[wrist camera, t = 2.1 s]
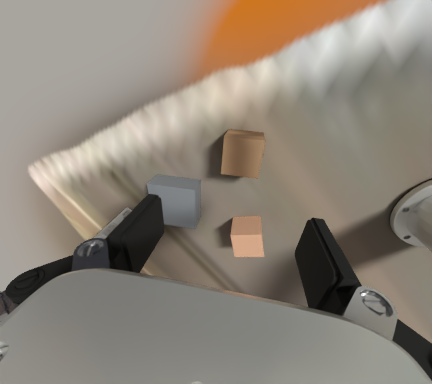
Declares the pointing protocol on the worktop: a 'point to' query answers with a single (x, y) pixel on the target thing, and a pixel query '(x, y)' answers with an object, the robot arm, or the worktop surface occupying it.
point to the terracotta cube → (247, 236)
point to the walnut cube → (242, 153)
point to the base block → (178, 199)
